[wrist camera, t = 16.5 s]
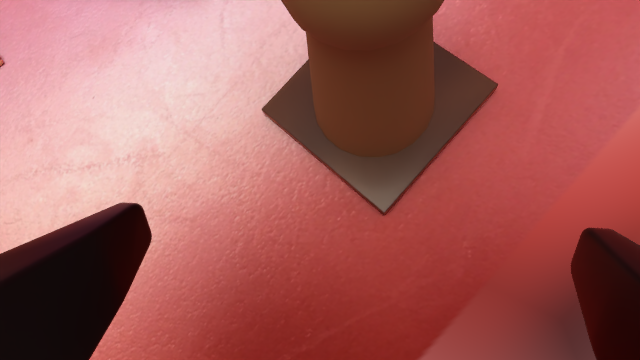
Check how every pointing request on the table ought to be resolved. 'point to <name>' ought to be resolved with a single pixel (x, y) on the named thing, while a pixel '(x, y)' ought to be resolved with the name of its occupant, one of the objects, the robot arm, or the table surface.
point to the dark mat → (395, 169)
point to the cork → (370, 70)
